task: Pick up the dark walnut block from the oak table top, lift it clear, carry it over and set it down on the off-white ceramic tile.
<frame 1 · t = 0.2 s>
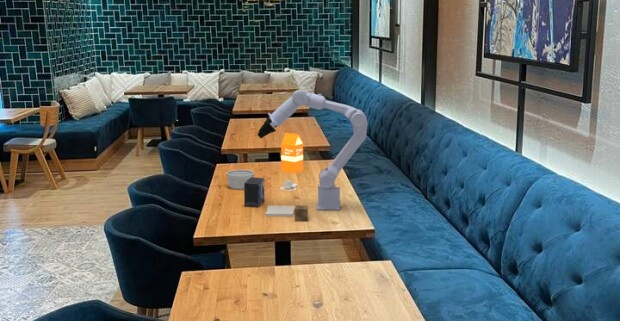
hand: (259, 134, 243), 31 cm above the table, tool tilted 45°, fingers open, 7 cm apart
teacup and saucer: (294, 190, 279), on the table
small box: (254, 204, 256), on the table
ramekin: (240, 187, 284), on the table
ceramic tile: (280, 212, 244), on the table
orange juice: (292, 170, 315), on the table
walnut block: (301, 219, 235), on the table
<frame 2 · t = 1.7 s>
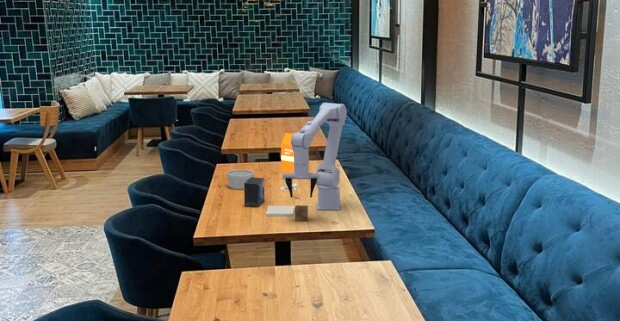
hand: (301, 196, 233), 9 cm above the table, tool pointing down, fingers open, 7 cm apart
nothing on the table moved.
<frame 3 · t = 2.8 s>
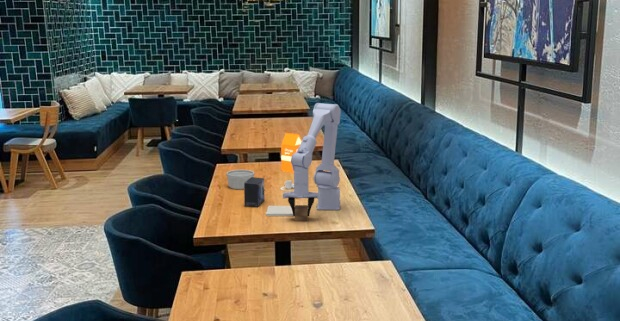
hand: (301, 215, 235), 1 cm above the table, tool pointing down, fingers closed on walnut block, 5 cm apart
walnut block: (301, 219, 235), on the table, touching gripper
everything else where it was.
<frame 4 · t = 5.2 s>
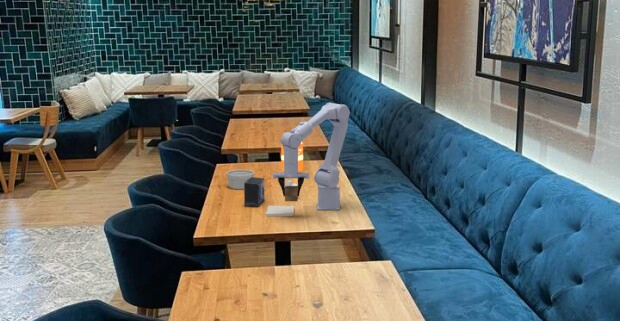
hand: (291, 195, 238), 8 cm above the table, tool pointing down, fingers closed on walnut block, 5 cm apart
walnut block: (291, 199, 238), point 7 cm above the table, touching gripper
everything else where it was.
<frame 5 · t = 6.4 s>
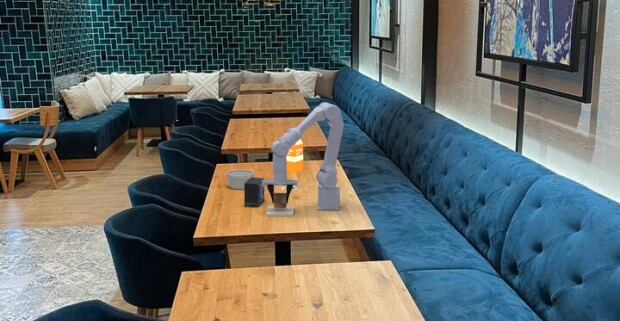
hand: (280, 202, 243), 4 cm above the table, tool pointing down, fingers closed on walnut block, 5 cm apart
walnut block: (280, 206, 244), point 3 cm above the table, touching gripper
everything else where it was.
when the fingers open (4 cm above the table, at t = 7.4 s): walnut block drops 1 cm, resting on ceramic tile.
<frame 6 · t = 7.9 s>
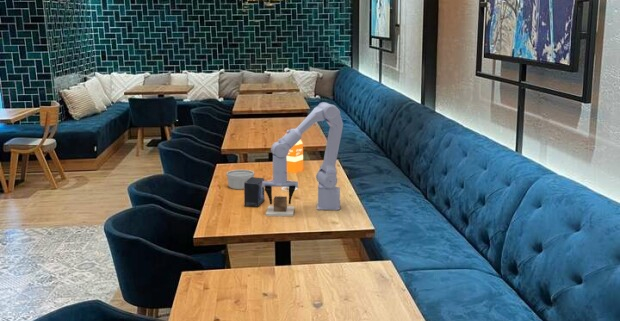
hand: (280, 203, 243), 4 cm above the table, tool pointing down, fingers open, 7 cm apart
walnut block: (280, 209, 244), point 1 cm above the table, touching ceramic tile
everything else where it was.
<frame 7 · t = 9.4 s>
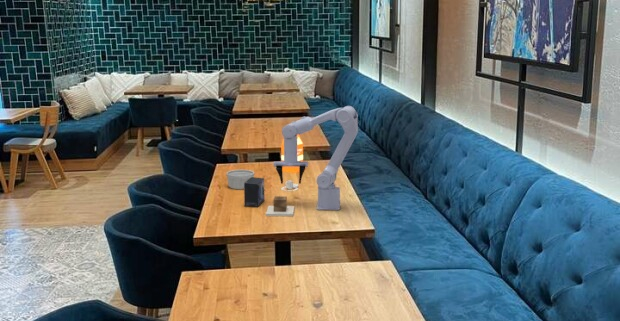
hand: (290, 183, 253), 9 cm above the table, tool pointing down, fingers open, 7 cm apart
nothing on the table moved.
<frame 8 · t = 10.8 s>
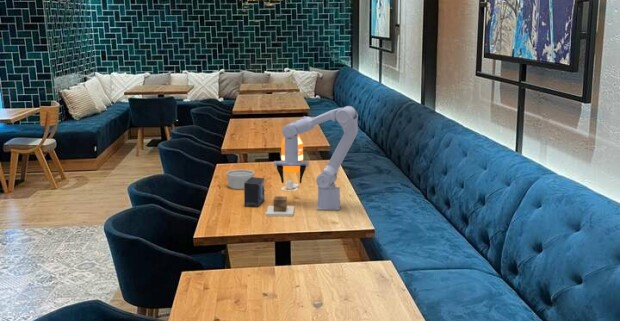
hand: (291, 182, 254), 9 cm above the table, tool pointing down, fingers open, 7 cm apart
nothing on the table moved.
at the end: walnut block inside the target area on the ceramic tile (0.1 cm from its centre), point 1.0 cm above the ceramic tile's base; walnut block tilted 0°; the gripper is holding nothing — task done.
